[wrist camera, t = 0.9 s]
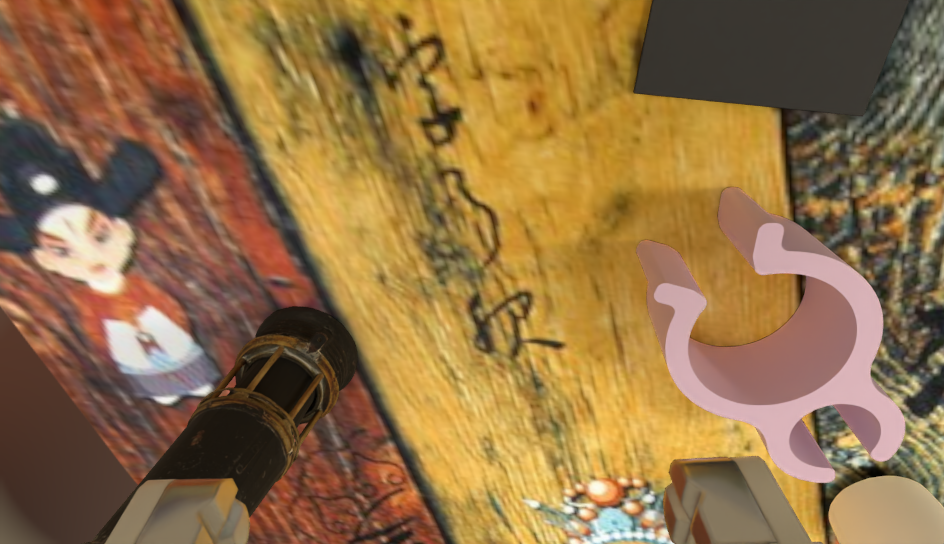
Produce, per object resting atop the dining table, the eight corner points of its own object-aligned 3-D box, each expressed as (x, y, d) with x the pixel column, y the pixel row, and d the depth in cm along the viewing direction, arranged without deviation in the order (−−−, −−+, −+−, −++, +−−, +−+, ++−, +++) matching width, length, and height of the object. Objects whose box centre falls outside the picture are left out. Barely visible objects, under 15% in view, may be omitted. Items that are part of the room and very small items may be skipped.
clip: (893, 369, 40) (957, 433, 34) (738, 437, 45) (769, 505, 39) (768, 162, 35) (816, 193, 29) (605, 263, 39) (617, 309, 33)
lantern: (345, 303, 44) (31, 759, 17) (368, 392, 48) (141, 880, 21) (244, 309, 45) (-192, 736, 18) (274, 395, 49) (-50, 853, 22)
